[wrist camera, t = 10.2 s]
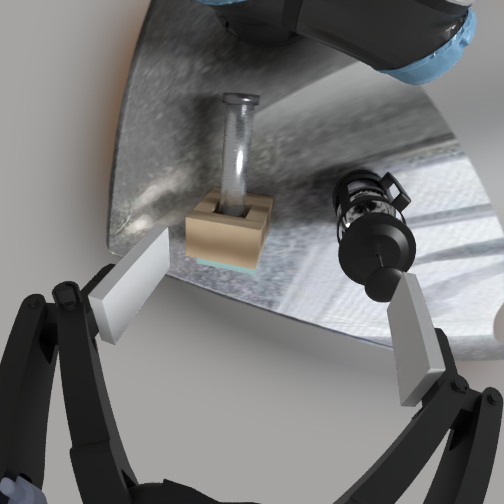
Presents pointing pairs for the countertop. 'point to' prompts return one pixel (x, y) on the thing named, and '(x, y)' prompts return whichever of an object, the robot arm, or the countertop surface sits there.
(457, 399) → the robot arm
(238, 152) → the shaft
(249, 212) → the housing
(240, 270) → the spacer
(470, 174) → the countertop surface
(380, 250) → the french press
